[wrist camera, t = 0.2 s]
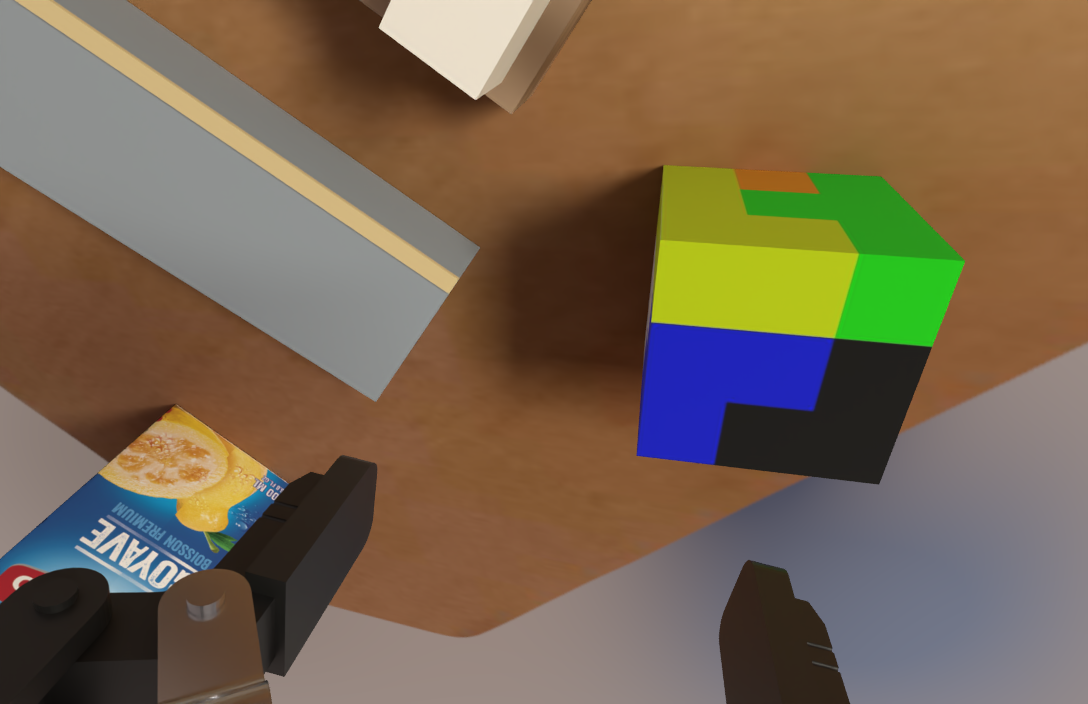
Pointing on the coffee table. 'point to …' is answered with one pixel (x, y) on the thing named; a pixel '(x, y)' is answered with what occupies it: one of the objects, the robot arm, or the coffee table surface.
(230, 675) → the robot arm
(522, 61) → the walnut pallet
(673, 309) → the puzzle toy
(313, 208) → the slate dock
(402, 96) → the coffee table surface
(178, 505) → the beverage box
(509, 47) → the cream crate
